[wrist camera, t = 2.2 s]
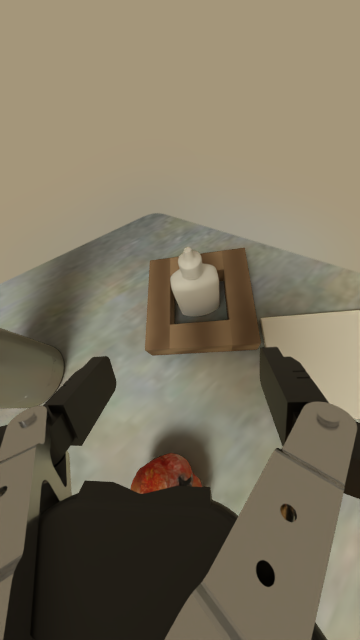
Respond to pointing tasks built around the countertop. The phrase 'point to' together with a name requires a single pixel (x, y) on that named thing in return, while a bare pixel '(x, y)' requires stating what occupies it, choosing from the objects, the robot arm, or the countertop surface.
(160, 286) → the walnut socket stand
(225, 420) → the countertop surface
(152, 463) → the pomegranate
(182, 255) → the eye dropper bottle
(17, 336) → the robot arm
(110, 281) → the countertop surface
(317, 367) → the off-white tile
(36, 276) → the countertop surface
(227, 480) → the countertop surface
